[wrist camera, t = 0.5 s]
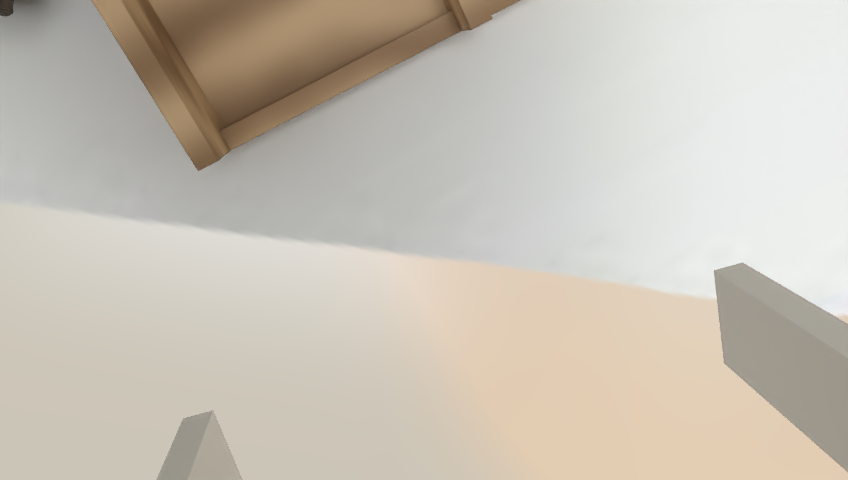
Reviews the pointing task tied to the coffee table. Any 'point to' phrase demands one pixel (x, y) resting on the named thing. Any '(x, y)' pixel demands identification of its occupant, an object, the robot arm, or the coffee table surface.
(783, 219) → the coffee table surface
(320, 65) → the wooden rack
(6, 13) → the alarm clock
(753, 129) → the coffee table surface
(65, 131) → the coffee table surface
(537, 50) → the coffee table surface
